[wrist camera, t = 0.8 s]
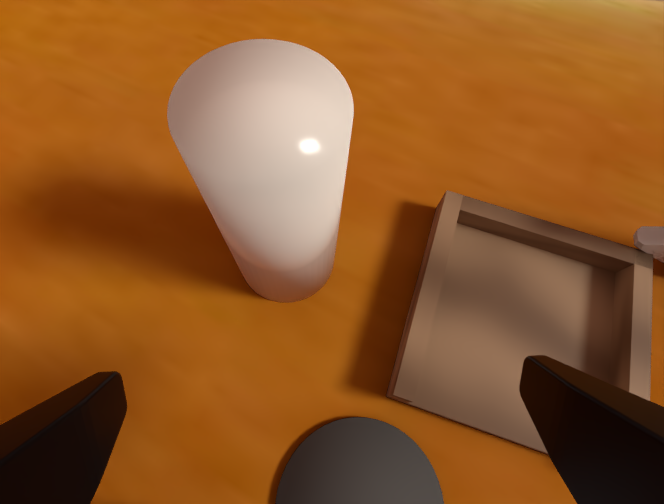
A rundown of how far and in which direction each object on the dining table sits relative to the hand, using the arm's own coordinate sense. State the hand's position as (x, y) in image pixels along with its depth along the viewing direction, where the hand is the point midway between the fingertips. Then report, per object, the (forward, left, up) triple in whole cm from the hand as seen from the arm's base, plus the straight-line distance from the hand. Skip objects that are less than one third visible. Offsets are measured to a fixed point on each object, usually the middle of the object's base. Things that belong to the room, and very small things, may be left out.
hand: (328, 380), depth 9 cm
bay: (+9, -8, -13) cm, 17 cm away
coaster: (-3, -4, -13) cm, 14 cm away
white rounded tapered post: (+6, +6, -13) cm, 15 cm away
